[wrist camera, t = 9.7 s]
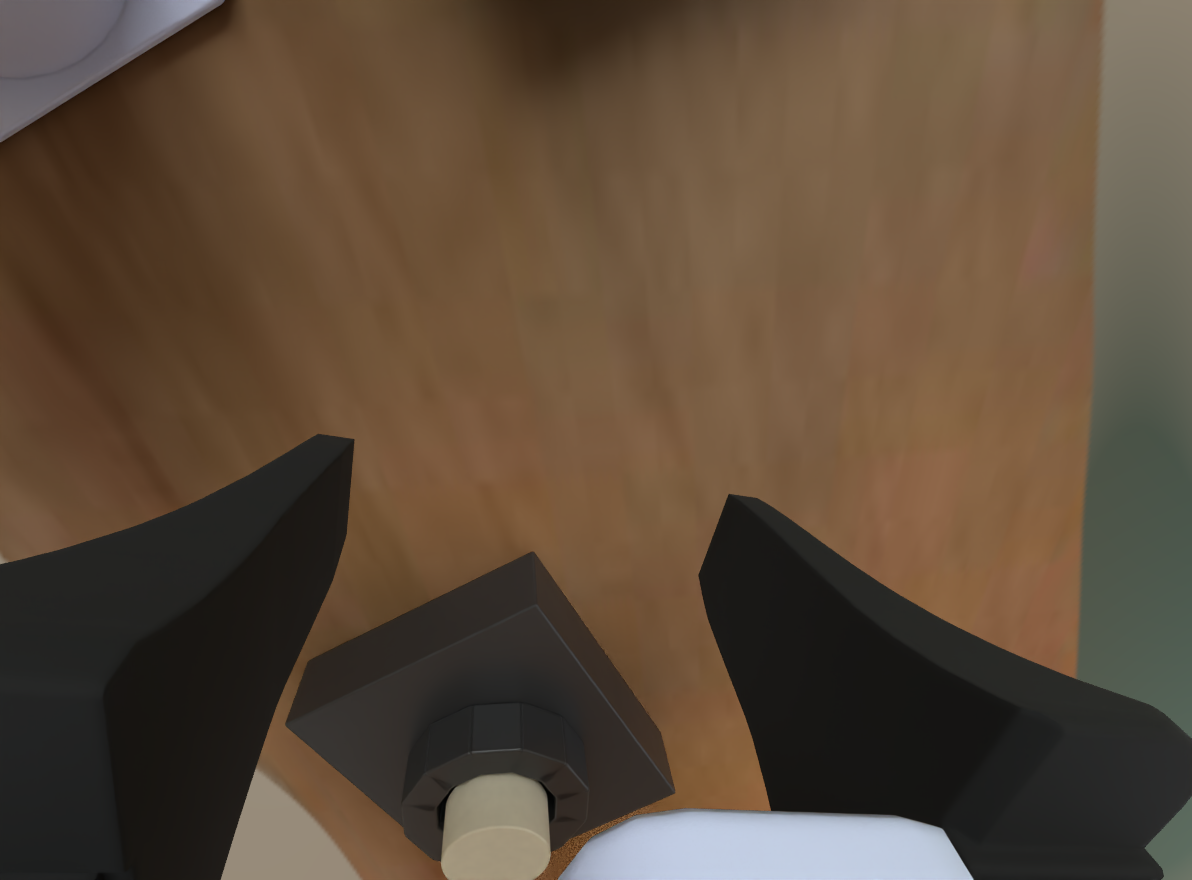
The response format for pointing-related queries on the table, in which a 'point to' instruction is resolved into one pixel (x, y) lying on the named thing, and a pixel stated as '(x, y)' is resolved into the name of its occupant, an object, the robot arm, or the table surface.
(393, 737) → the button base
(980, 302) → the table surface
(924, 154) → the table surface
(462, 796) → the push button
